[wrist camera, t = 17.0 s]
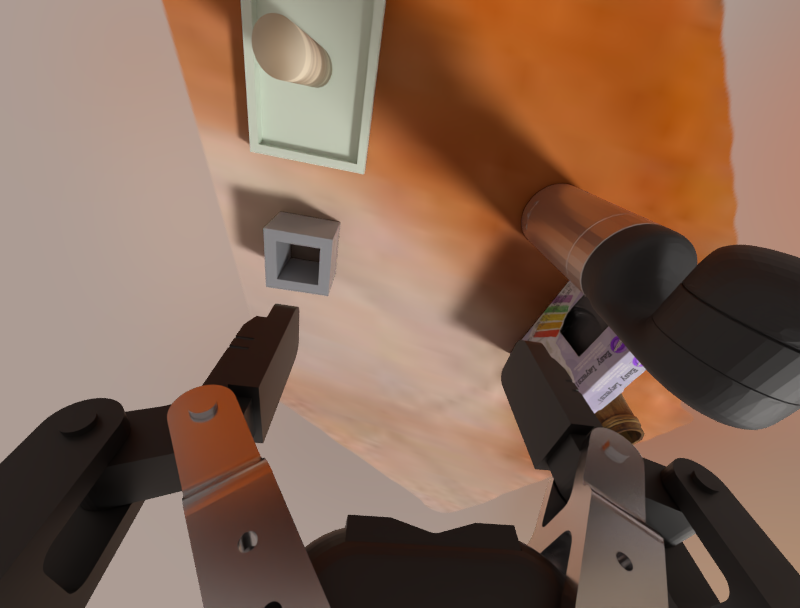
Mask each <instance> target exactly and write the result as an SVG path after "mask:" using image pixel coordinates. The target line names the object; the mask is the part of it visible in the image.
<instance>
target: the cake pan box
mask: <svg viewBox="0 0 800 608" xmlns="http://www.w3.org/2000/svg"><path fill="white" fill-rule="evenodd" d="M522 340H526V341H533V342H540V343H542V344H543V345H544V346H545V348H546V350H547V351H548V353H549V354H550V356H551V358H554V359H555V360H556V361H557V362H558V363H559V364H560V365H561V366H563V367H564V368H565V369H566V371H567V373H568V374H569V376H570V377H571V379H572V380H573V381H572V382H573V383H575V385H576V386H577V388H578V389H579V392H580V393H581V394H582V395H583V397H584V399H585V400H586V402H587V403H588V405H589V406H590V408H591V409H592V411H593V412H594V414H595V413H596V412H597V411H598V410H601V409H603V408H604V407H605V406H606V405H607V404H609V403H610V402H611V401H612V400H613V399H615V398H616V397H617V396H618V395H619V394H620V393H622V392H623V391H624V388H625V387H626V386H628V385H629V384H630V383H631V382H632V381H633V380H635V379H636V378H637V377H638V376H639V375H641V374H642V373H643V372H644V371H645V370H646V369H645V368H644V367H643V366H642V364H641V363H640V362H639V361H638V360H637V359H636V358H635V357H634V356H633V354H632V353H631V352H630V351H629V350H628V348H627V347H626V346H625V345H624V344H623V342H622V341H621V340H620V339H619V338H618V336H617V335H616V334H615V333H614V332H613V331H612V329H611V328H610V327H609V326H608V325H607V324H606V323H605V321H604V320H603V319H602V318H601V317H600V316H599V315H598V314H597V313H596V311H595V310H594V309H593V307H592V305H591V303H590V300H589V299H588V298H587V297H586V296H585V295H584V294H583V293H582V292H581V291H580V290H579V289H578V288H577V287H576V286H575V285H574V284H573V283H572V282H571V281H570V280H569V282H568V283H567V284H566V285H565V287H564V288H563V289H562V290H561V292H560V293H559V294H558V295H557V297H556V298H555V299H554V300H553V302H552V303H551V304H550V305H549V306H548V308H547V309H546V310H545V311H544V313H543V314H542V315H541V316H540V318H539V319H538V320H537V321H536V323H535V324H534V325H533V326H532V327H531V329H530V330H529V331H528V332H527V334H526V335H525V336H524V337H523V339H522Z"/></svg>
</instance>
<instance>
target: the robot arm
mask: <svg viewBox="0 0 800 608" xmlns="http://www.w3.org/2000/svg"><path fill="white" fill-rule="evenodd" d="M521 225H522V230H523V233H524V235H525V236H526V238H527V239H528V240H529V241H530V242H531V243H532V244H533V245H534V246H535V247H536V248H537V249H538V250H539V251H540V252H541V253H542V254H543V255H544V256H545V257H546V258H547V259H548V260H549V261H550V262H551V263H552V264H553V265H554V266H555V267H556V268H557V269H558V270H559V271H560V272H561V273H562V274H563V275H564V276H565V277H567V278H568V279H569V280H570V281H571V282H572V283H573V284H574V285H575V286H576V287H577V288H578V289H579V290H580V291H581V292H582V293H583V294H584V295H585V296H586V297H587V298H588V299H589V300H590V303H591V305H592V307H593V309H594V310H595V311H596V313H597V314H598V315H599V316H600V317H601V318H602V319H603V320H604V321H605V323H606V324H607V325H608V326H609V327H610V328H611V329H612V331H613V332H614V333H615V334H616V335H617V336H618V338H619V339H620V340H621V341H622V342H623V344H624V345H625V346H626V347H627V348H628V350H629V351H630V352H631V353H632V354H633V356H634V357H635V358H636V359H637V360H638V361H639V362H640V363H641V364H642V366H643V367H644V368H645V369H646V370H647V371H648V372H649V373H650V374H651V375H652V376H653V377H654V378H655V379H656V380H657V381H658V382H659V383H661V384H662V385H663V386H664V387H665V388H666V389H667V390H668V391H670V392H671V393H672V394H673V395H675V396H676V397H677V398H679V399H680V400H682V401H683V402H684V403H686V404H687V405H688V406H690V407H692V408H693V409H695V410H696V411H698V412H700V413H701V414H703V415H705V416H707V417H709V418H711V419H713V420H716V421H717V422H720V423H723V424H725V425H728V426H732V427H735V428H740V429H749V430H757V429H763V428H767V427H769V426H771V425H774V424H776V423H777V422H779V421H781V420H783V419H784V418H786V417H788V416H789V415H791V414H792V413H794V412H795V411H797V410H798V409H800V258H798V257H795V256H792V255H789V254H786V253H782V252H779V251H775V250H771V249H767V248H762V247H757V246H750V245H730V246H725V247H721V248H718V249H716V250H715V251H713V252H712V253H711V254H709V255H708V256H707V257H706V258H704V259H703V260H702V261H701V262H700V263H699V264H698V265H697V254H696V251H695V249H694V247H693V245H692V244H691V242H690V241H689V240H688V239H687V238H685V237H684V236H683V235H681V234H679V233H677V232H675V231H673V230H671V229H669V228H666V227H664V226H662V225H660V224H657V223H655V222H653V221H651V220H648V219H646V218H644V217H641V216H639V215H637V214H635V213H632V212H630V211H628V210H626V209H623V208H621V207H619V206H617V205H615V204H612V203H610V202H608V201H606V200H603V199H601V198H599V197H597V196H594V195H592V194H590V193H588V192H586V191H584V190H581V189H579V188H577V187H575V186H572V185H569V184H554V185H550V186H548V187H546V188H544V189H542V190H541V191H539V192H538V193H537V194H536V195H534V196H533V197H532V198H531V200H530V201H529V202H528V204H527V205H526V207H525V209H524V212H523V215H522V221H521ZM298 343H299V307H295V306H288V305H281V304H275V305H274V306H273V308H272V310H271V311H270V313H269V315H268V316H267V317H260V316H256V317H254V318H253V319H251V320H250V321H248V322H247V323H245V324H244V325H243V326H242V328H241V329H240V331H239V332H238V333H237V335H236V338H234V339H233V341H232V342H231V344H230V347H229V348H228V349H227V350H226V351H225V353H224V354H223V356H222V357H221V359H220V360H219V362H218V363H217V365H216V366H215V368H214V369H213V370H212V372H211V373H210V375H209V376H208V378H207V379H206V381H205V382H204V384H203V385H202V386H200V387H196V388H194V389H191V390H189V391H187V392H185V393H184V394H182V395H181V396H179V397H178V398H177V399H176V400H175V401H174V402H173V403H172V404H171V405H167V406H162V407H155V408H149V409H142V410H135V411H129V412H125V411H124V409H123V407H122V405H121V404H120V403H119V402H117V401H115V400H112V399H106V398H96V399H89V400H84V401H81V402H77V403H74V404H72V405H69V406H67V407H65V408H63V409H61V410H59V411H57V412H55V413H54V414H52V415H51V416H50V417H48V418H47V419H46V420H44V421H43V422H42V423H41V424H40V425H39V426H38V427H37V428H36V429H35V430H34V431H33V432H32V433H31V434H30V435H29V436H28V437H27V438H26V439H25V440H24V441H23V442H22V443H21V444H20V445H19V446H18V447H17V448H16V449H15V450H14V451H13V452H12V453H11V454H10V455H9V456H8V457H7V458H6V459H5V460H4V461H3V462H1V463H0V608H85V606H86V605H87V603H88V601H89V599H90V597H91V596H92V594H93V592H94V590H95V588H96V587H97V585H98V583H99V581H100V580H101V578H102V576H103V574H104V572H105V571H106V569H107V567H108V565H109V563H110V562H111V560H112V558H113V556H114V555H115V553H116V551H117V549H118V548H119V546H120V544H121V542H122V540H123V539H124V537H125V535H126V533H127V532H128V530H129V528H130V526H131V524H132V523H133V521H134V519H135V517H136V515H137V513H138V512H139V510H140V508H141V506H142V505H143V503H144V501H145V500H147V499H151V498H155V497H159V496H163V495H167V494H171V493H175V492H179V491H182V492H183V498H182V501H183V509H184V514H185V519H186V524H187V529H188V533H189V538H190V543H191V548H192V553H193V557H194V562H195V567H196V572H197V577H198V582H199V586H200V591H201V596H202V601H203V606H204V608H800V575H799V573H798V572H797V571H796V570H795V569H794V567H793V566H792V565H791V564H790V563H789V562H788V560H787V559H786V558H785V557H784V555H783V554H782V553H781V552H780V551H779V549H778V548H777V547H776V546H775V545H774V543H773V542H772V541H771V540H770V539H769V537H768V536H767V535H766V534H765V532H764V531H763V530H762V529H761V528H760V527H759V525H758V524H757V523H756V522H755V520H754V519H753V518H752V517H751V516H750V515H749V513H748V512H747V511H746V510H745V508H744V507H743V506H742V505H741V504H740V502H739V501H738V500H737V499H736V498H735V496H734V495H733V494H732V493H731V492H730V490H729V489H728V488H727V487H726V486H725V485H724V483H723V482H722V481H721V480H720V479H719V478H718V477H716V476H715V475H714V474H713V473H712V472H710V471H709V470H708V469H706V468H705V467H703V466H702V465H700V464H698V463H696V462H694V461H692V460H689V459H685V458H677V459H675V460H674V461H673V462H672V463H670V464H669V465H668V466H667V467H666V466H663V465H661V464H658V463H656V462H653V461H650V460H648V459H645V458H642V456H641V455H640V453H639V452H638V450H637V449H636V448H635V447H634V446H633V445H632V444H631V443H630V442H629V441H628V440H627V439H626V438H624V437H623V436H622V435H620V434H618V433H617V432H615V431H612V430H610V429H607V428H603V426H602V424H601V423H600V421H599V420H598V418H597V417H596V415H595V414H594V412H593V411H592V409H591V408H590V406H589V405H588V403H587V402H586V400H585V399H584V397H583V395H582V394H581V393H580V392H579V389H578V388H577V386H576V385H575V383H573V382H572V381H573V380H572V379H571V377H570V376H569V374H568V373H567V371H566V369H565V368H564V367H563V366H561V365H560V364H559V363H558V362H557V361H556V360H555V359H554V358H551V356H550V354H549V353H548V351H547V350H546V348H545V346H544V345H543V344H542V343H540V342H533V341H526V340H519V341H518V342H517V343H516V345H515V347H514V349H513V351H512V352H511V354H510V356H509V358H508V360H507V362H506V364H505V366H504V368H503V370H502V375H501V381H502V386H503V388H504V391H505V394H506V396H507V399H508V401H509V404H510V406H511V409H512V411H513V414H514V417H515V419H516V422H517V424H518V427H519V429H520V432H521V434H522V437H523V439H524V442H525V445H526V447H527V450H528V452H529V455H530V457H531V460H532V462H533V465H534V468H535V469H540V470H550V471H551V473H552V478H551V479H550V480H549V482H548V484H547V488H546V491H545V495H544V498H543V502H542V505H541V509H540V512H539V516H538V520H537V523H536V527H535V530H534V533H533V535H532V537H531V539H530V541H529V543H528V544H527V545H526V544H524V543H522V542H520V541H518V537H517V534H516V530H515V527H514V526H513V525H497V524H483V523H474V524H470V525H467V526H463V527H460V528H455V529H452V530H448V531H444V532H441V533H431V532H428V531H426V530H423V529H420V528H418V527H415V526H412V525H410V524H407V523H404V522H402V521H399V520H396V519H393V518H389V517H375V516H360V515H359V516H358V515H348V517H347V521H346V526H345V528H342V529H339V530H335V531H332V532H330V533H328V534H325V535H323V536H321V537H319V538H318V539H316V540H314V541H313V542H311V543H310V544H309V545H307V546H306V547H304V545H303V542H302V540H301V538H300V535H299V533H298V531H297V528H296V526H295V523H294V521H293V519H292V516H291V514H290V512H289V510H288V507H287V505H286V502H285V500H284V498H283V495H282V493H281V491H280V488H279V486H278V484H277V482H276V479H275V477H274V474H273V472H272V470H271V468H270V466H269V464H268V462H267V460H266V459H265V458H263V459H262V458H261V456H260V454H259V452H258V449H257V447H256V444H255V443H263V442H264V440H265V437H266V434H267V432H268V429H269V426H270V424H271V421H272V419H273V416H274V413H275V411H276V408H277V405H278V403H279V400H280V398H281V395H282V392H283V390H284V387H285V385H286V382H287V379H288V377H289V374H290V371H291V369H292V366H293V364H294V361H295V358H296V355H297V350H298ZM695 533H696V534H697V536H698V537H699V538H700V540H701V542H702V543H703V545H704V546H705V548H706V549H707V551H708V552H709V554H710V555H711V557H712V558H713V560H714V561H715V563H716V564H717V566H718V567H719V569H720V570H721V571H722V573H723V575H724V576H725V578H726V580H727V582H728V585H729V591H730V594H729V598H728V599H727V600H726V601H725V602H722V603H720V602H719V600H718V598H717V597H716V595H715V594H714V592H713V591H712V589H711V587H710V586H709V584H708V582H707V581H706V579H705V578H704V576H703V574H702V573H701V571H700V569H699V568H698V566H697V565H696V563H695V561H694V560H693V558H692V557H691V555H690V553H689V552H688V550H687V549H686V547H685V545H684V544H683V542H682V541H684V540H686V539H687V538H689V537H691V536H692V535H694V534H695Z"/></svg>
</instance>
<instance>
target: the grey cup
mask: <svg viewBox="0 0 800 608" xmlns="http://www.w3.org/2000/svg"><path fill="white" fill-rule="evenodd" d="M339 231H340V222H336V221H331V220H325V219H319V218H314V217H308V216H303V215H297V214H291V213H286V212H279V213H278V214H277V215H276V216H275V217H274V218H273V219H272V220H271V221H270V222H269V223H268V224H267V225H266V226H265V227H264V228H263V234H264V254H265V274H266V287H271V288H278V289H284V290H291V291H298V292H305V293H311V294H318V295H325V296H328V295H329V292H330V289H331V286H332V283H333V280H334V277H335V274H336V264H337V253H338V242H339ZM291 244H296V245H302V246H308V247H314V248H320V262H314V261H307V260H301V259H295V258H291Z"/></svg>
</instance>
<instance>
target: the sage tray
mask: <svg viewBox="0 0 800 608" xmlns="http://www.w3.org/2000/svg"><path fill="white" fill-rule="evenodd" d="M385 7H386V0H241V15H242V31H243V46H244V62H245V78H246V93H247V109H248V124H249V140H250V152H255V153H260V154H265V155H270V156H275V157H280V158H285V159H290V160H295V161H300V162H305V163H310V164H315V165H320V166H325V167H330V168H335V169H340V170H345V171H350V172H355V173H360V174H364V173H365V169H366V161H367V153H368V145H369V136H370V128H371V120H372V112H373V104H374V96H375V88H376V80H377V72H378V63H379V55H380V47H381V39H382V31H383V23H384V15H385ZM268 13H278V14H281V15H283V16H285V17H287V18H288V19H289V20H291V21H292V22H293V23H294V24H295V25H297V26H298V27H299V28H300V29H301V30H303V31H304V32H305V33H306V34H307V35H309V36H310V37H311V38H312V39H313V40H315V41H316V42H317V43H318V44H319V45H321V46H322V47H323V48H324V49H325V50H326V51H327V53H328V54H329V56H330V59H331V62H332V75H331V78H330V80H329V82H328V83H327V84H326V85H324V86H323V87H319V88H315V87H310V86H305V85H300V84H296V83H291V82H287V81H282V80H278V79H275V78H273V77H271V76H270V75H268V74H267V73H266V72H265V71H264V70H263V69H262V68H261V66H260V65H259V63H258V62H257V60H256V58H255V55H254V52H253V48H252V31H253V28H254V25H255V23H256V22H257V20H258V19H259V18H260V17H262V16H263V15H265V14H268Z"/></svg>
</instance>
